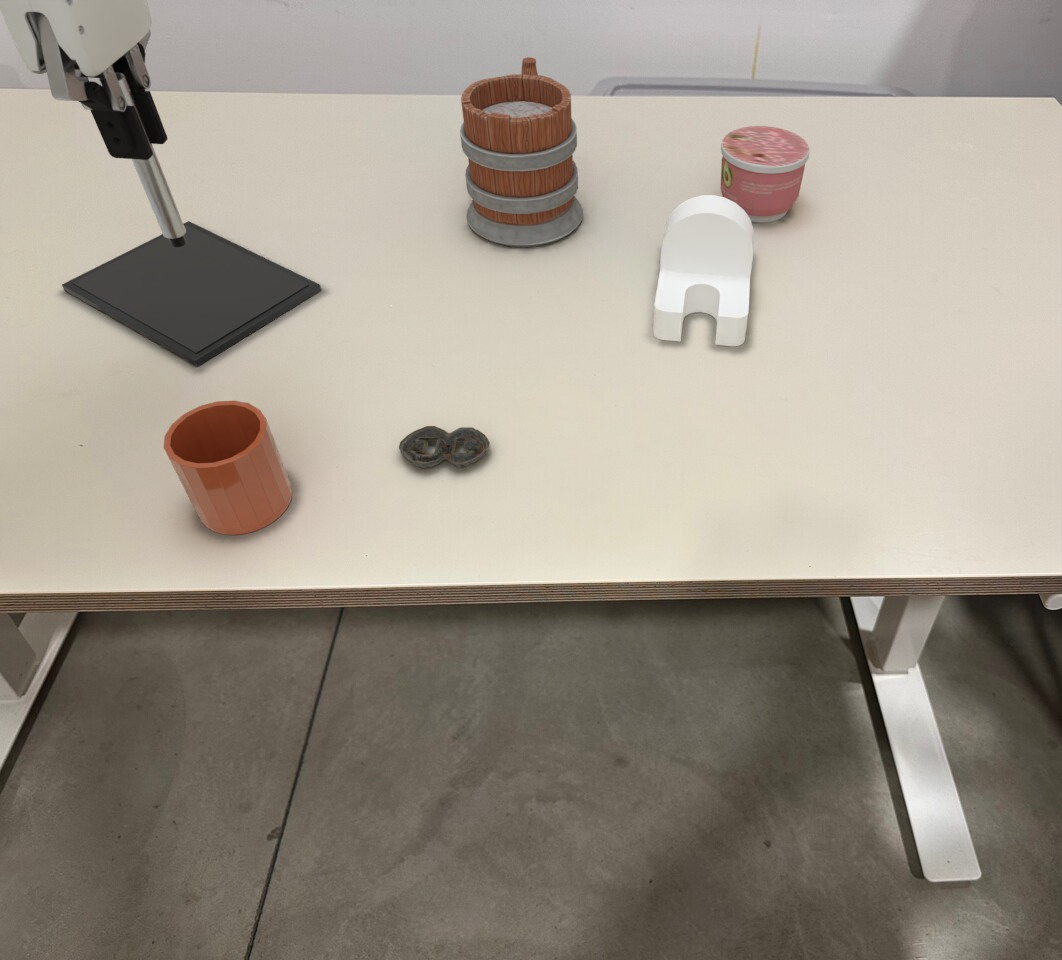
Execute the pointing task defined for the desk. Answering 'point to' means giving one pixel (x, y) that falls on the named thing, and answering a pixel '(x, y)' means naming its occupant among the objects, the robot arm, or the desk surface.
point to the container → (763, 170)
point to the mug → (520, 158)
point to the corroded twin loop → (444, 446)
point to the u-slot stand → (705, 268)
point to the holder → (229, 466)
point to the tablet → (192, 292)
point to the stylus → (156, 183)
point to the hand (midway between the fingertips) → (139, 147)
